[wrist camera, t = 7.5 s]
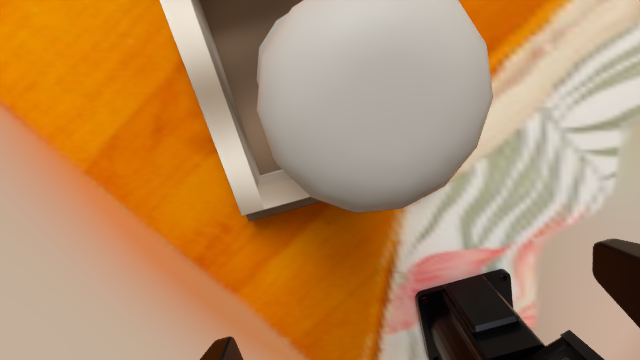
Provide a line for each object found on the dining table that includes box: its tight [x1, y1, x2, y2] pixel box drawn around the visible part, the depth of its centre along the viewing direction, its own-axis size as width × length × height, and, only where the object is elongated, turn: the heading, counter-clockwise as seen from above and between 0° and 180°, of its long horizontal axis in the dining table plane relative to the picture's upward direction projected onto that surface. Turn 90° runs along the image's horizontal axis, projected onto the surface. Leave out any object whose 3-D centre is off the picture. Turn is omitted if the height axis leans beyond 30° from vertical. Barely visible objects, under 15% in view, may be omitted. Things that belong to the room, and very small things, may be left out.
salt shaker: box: [257, 0, 493, 213], centre depth 12 cm, size 6×6×13 cm
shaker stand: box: [160, 0, 322, 221], centre depth 17 cm, size 14×12×3 cm
